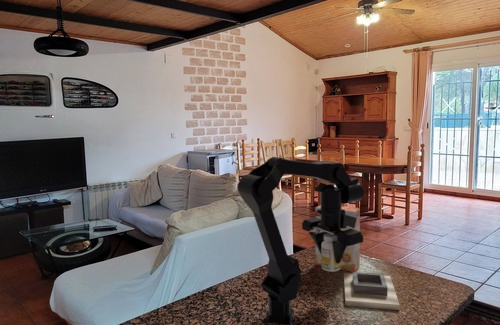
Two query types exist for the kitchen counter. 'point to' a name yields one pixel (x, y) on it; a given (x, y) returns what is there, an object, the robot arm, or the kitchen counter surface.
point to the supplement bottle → (329, 254)
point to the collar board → (370, 291)
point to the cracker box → (352, 252)
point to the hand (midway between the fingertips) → (330, 259)
